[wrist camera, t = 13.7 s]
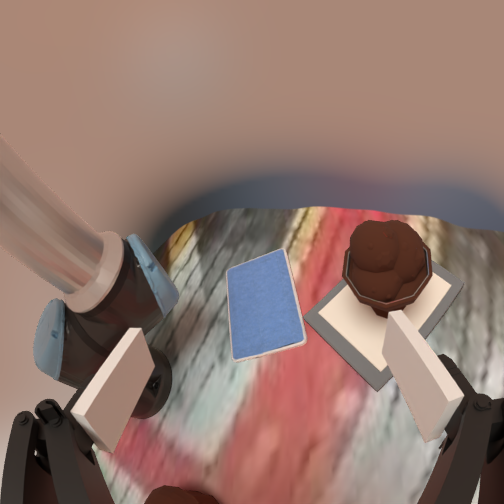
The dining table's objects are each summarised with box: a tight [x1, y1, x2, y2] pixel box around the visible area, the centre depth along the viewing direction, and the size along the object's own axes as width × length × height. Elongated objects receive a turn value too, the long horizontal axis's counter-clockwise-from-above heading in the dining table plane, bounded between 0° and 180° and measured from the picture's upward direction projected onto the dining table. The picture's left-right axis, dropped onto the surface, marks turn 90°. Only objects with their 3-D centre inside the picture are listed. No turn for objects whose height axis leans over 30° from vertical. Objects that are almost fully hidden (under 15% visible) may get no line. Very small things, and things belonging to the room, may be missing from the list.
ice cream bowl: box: [342, 220, 433, 319], centre depth 30 cm, size 11×11×15 cm
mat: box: [303, 260, 464, 392], centre depth 36 cm, size 16×20×1 cm
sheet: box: [318, 272, 451, 372], centre depth 35 cm, size 13×16×1 cm
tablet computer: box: [226, 249, 307, 363], centre depth 46 cm, size 19×13×1 cm, turn 6°
